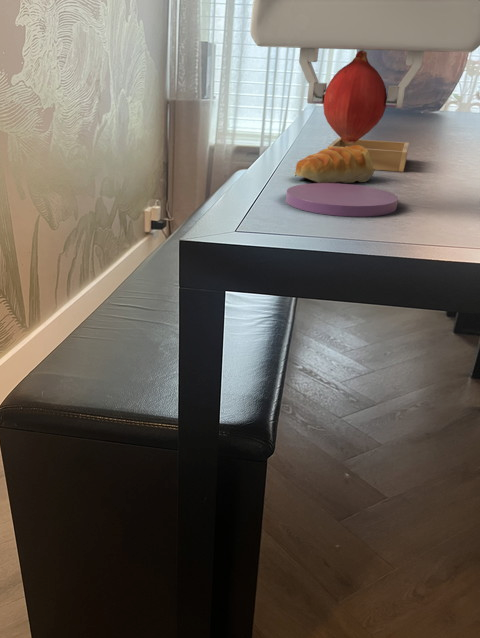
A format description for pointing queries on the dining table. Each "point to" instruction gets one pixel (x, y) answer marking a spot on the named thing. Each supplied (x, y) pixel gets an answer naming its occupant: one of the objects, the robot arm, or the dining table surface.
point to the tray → (381, 153)
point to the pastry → (337, 165)
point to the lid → (341, 199)
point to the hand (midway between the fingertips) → (353, 105)
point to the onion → (355, 99)
